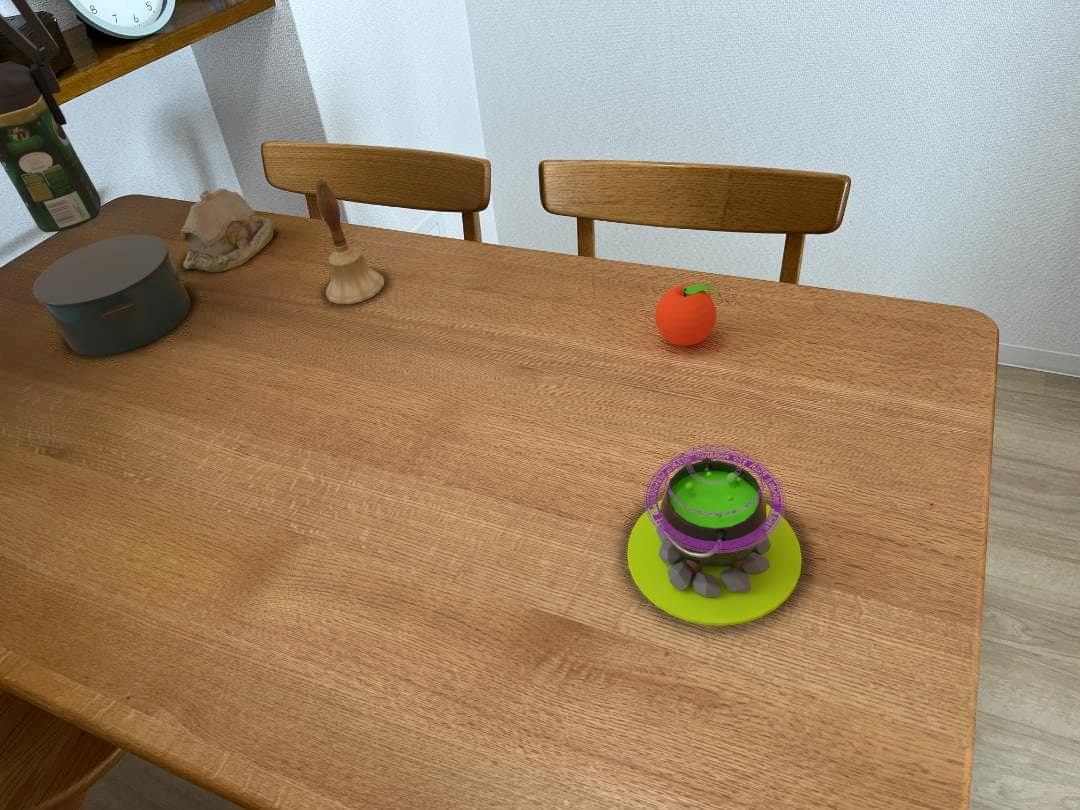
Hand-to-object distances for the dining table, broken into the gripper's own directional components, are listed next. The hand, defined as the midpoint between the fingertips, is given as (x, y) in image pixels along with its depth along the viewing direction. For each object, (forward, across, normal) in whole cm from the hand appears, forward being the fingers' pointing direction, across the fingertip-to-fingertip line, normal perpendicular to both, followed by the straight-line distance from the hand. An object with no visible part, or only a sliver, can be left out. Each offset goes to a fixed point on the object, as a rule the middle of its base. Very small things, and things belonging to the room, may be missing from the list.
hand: (24, 132), depth 96 cm
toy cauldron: (+28, +39, -79) cm, 93 cm away
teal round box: (+28, 0, 0) cm, 28 cm away
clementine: (+28, +57, -53) cm, 83 cm away
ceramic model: (+28, +17, +10) cm, 34 cm away
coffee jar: (+11, 0, 0) cm, 11 cm away
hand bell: (+28, +29, -14) cm, 43 cm away
